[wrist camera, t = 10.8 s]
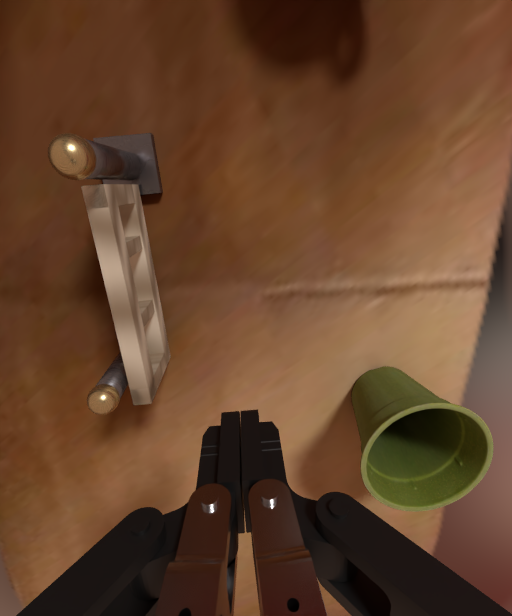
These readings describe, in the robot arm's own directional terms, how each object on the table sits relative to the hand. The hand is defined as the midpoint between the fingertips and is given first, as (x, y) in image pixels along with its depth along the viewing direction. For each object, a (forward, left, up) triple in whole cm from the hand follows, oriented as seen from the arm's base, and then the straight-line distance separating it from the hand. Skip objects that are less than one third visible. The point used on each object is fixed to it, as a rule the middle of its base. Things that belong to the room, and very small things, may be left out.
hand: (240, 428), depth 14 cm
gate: (-2, -9, -22) cm, 24 cm away
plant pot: (+15, +15, -24) cm, 32 cm away
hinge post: (-12, -9, -24) cm, 28 cm away
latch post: (+6, -12, -24) cm, 27 cm away
